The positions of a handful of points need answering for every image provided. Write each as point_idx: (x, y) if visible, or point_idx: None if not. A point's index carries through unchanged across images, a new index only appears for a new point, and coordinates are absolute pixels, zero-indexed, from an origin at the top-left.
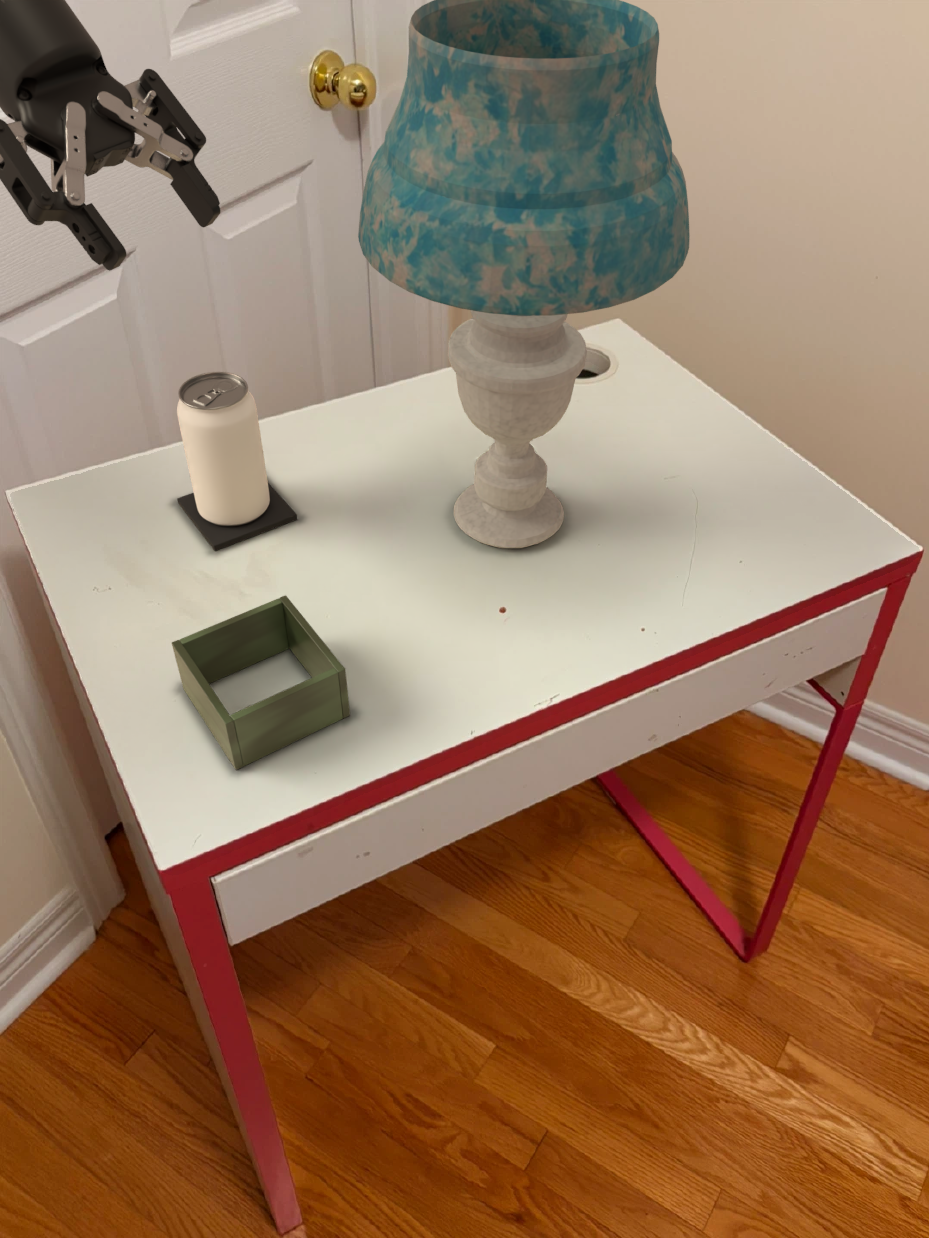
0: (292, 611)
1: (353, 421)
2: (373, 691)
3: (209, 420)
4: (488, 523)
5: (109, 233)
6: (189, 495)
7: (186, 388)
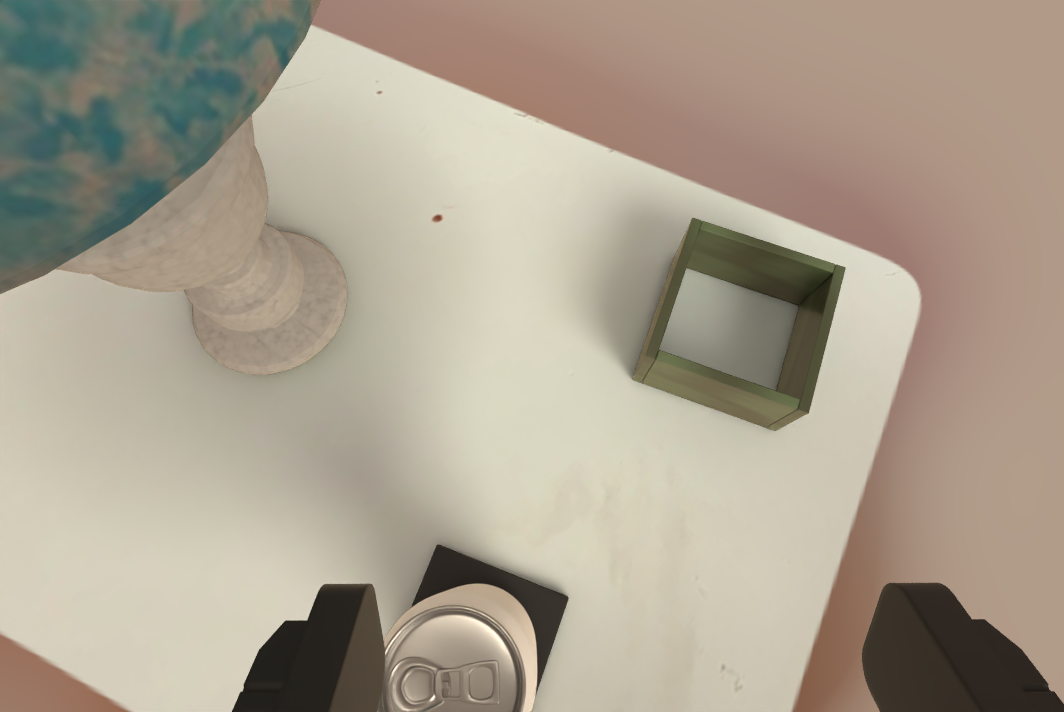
0: (663, 327)
1: (161, 657)
2: (631, 257)
3: (516, 631)
4: (318, 294)
5: (973, 657)
6: None
7: None
